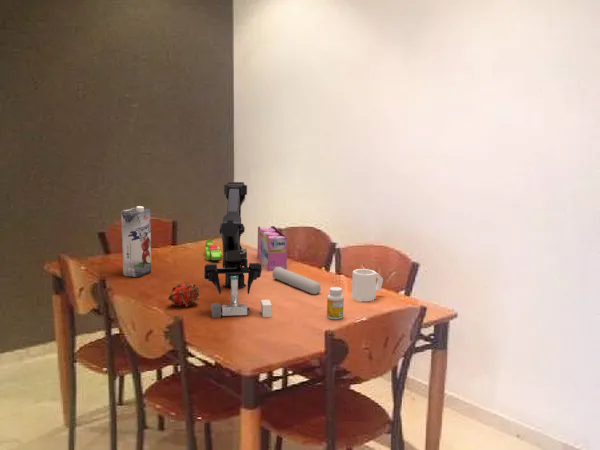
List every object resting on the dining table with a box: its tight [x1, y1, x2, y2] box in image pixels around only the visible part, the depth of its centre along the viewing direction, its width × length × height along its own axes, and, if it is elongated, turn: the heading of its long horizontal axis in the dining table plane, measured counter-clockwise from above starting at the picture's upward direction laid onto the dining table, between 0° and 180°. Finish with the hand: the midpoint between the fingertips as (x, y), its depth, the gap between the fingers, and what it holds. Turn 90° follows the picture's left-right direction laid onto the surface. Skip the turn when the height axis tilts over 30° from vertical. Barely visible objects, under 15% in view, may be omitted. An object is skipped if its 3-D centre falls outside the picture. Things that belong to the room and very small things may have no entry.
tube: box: [272, 267, 322, 295], centre depth 278 cm, size 5×5×25 cm
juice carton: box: [120, 205, 152, 278], centre depth 288 cm, size 9×10×27 cm
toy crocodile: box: [204, 239, 223, 261], centre depth 318 cm, size 20×7×6 cm, turn 12°
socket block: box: [260, 299, 273, 318], centre depth 246 cm, size 3×6×4 cm, turn 10°
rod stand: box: [211, 302, 251, 319], centre depth 244 cm, size 12×4×4 cm, turn 100°
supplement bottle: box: [326, 286, 345, 320], centre depth 244 cm, size 5×5×10 cm
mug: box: [351, 268, 384, 302], centre depth 266 cm, size 12×9×10 cm
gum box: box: [256, 225, 288, 272], centre depth 310 cm, size 24×8×14 cm, turn 15°
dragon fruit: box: [168, 281, 200, 308], centre depth 253 cm, size 8×8×12 cm
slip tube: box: [221, 275, 248, 317], centre depth 243 cm, size 8×3×13 cm, turn 100°
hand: (234, 293), depth 243 cm, fingers open, 9 cm apart
